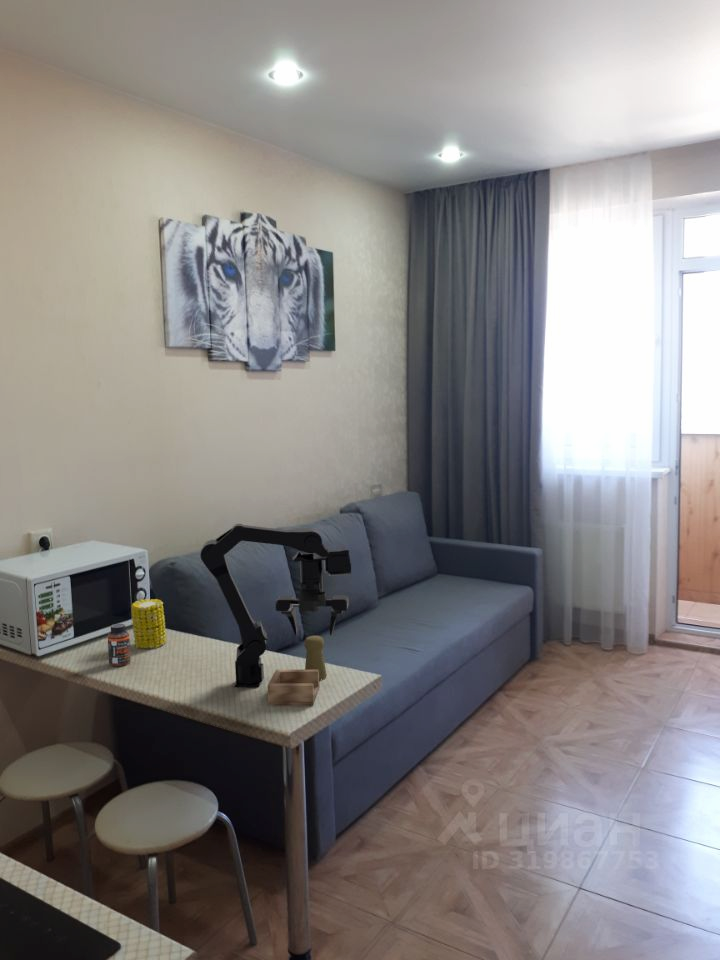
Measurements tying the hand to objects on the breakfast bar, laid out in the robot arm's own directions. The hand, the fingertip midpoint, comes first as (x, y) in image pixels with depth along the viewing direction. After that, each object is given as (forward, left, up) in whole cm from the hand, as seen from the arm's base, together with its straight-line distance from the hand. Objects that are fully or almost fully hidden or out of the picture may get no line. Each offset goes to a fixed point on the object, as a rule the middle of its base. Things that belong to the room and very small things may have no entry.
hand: (313, 634), depth 197 cm
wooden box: (-3, -13, -12) cm, 18 cm away
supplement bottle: (-58, +11, -12) cm, 60 cm away
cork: (0, 0, -12) cm, 12 cm away
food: (-55, +27, -12) cm, 62 cm away
